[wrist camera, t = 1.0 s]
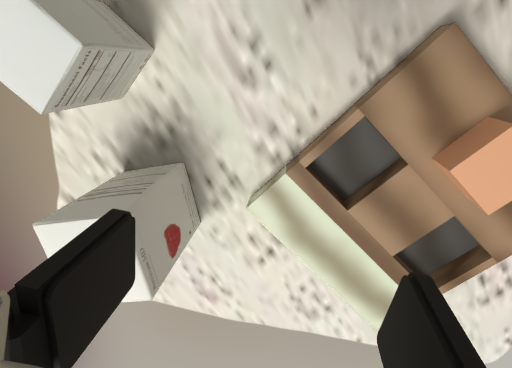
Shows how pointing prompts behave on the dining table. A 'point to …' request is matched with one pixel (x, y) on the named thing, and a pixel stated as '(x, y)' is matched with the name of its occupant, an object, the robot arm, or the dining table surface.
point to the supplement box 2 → (146, 220)
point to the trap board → (394, 183)
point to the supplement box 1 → (67, 53)
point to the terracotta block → (481, 164)
